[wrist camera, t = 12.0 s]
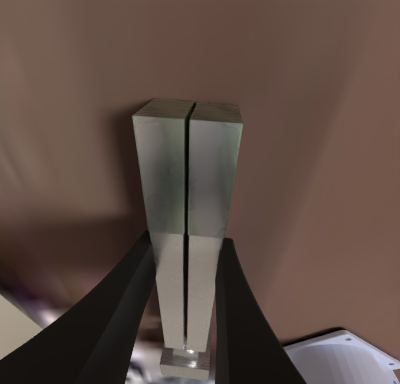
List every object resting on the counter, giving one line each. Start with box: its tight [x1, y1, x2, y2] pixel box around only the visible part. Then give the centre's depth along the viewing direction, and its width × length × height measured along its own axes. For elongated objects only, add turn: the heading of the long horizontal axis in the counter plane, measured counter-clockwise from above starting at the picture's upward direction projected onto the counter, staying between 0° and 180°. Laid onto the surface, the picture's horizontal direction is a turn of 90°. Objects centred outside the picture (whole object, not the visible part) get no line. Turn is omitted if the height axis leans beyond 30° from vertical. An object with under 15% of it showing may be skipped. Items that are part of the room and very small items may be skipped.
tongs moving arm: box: [173, 102, 243, 361], centre depth 13 cm, size 21×3×2 cm, turn 178°
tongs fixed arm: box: [132, 98, 211, 381], centre depth 14 cm, size 24×4×3 cm, turn 178°
